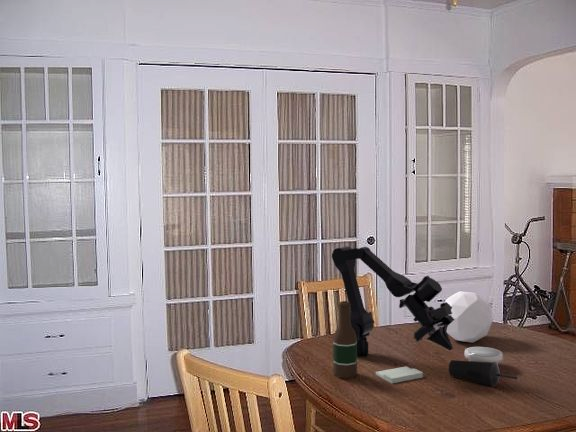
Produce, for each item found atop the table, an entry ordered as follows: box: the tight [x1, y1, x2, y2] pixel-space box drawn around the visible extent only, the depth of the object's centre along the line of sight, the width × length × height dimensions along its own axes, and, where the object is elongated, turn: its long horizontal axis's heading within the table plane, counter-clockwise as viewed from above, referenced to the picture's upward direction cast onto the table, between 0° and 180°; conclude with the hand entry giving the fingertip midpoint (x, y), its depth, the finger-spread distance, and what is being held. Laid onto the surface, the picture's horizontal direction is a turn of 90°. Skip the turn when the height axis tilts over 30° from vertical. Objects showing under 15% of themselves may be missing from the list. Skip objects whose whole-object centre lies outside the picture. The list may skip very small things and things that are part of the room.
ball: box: [444, 290, 494, 343], centre depth 217 cm, size 19×20×20 cm
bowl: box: [464, 346, 504, 365], centre depth 188 cm, size 12×12×5 cm
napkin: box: [375, 366, 424, 384], centre depth 181 cm, size 12×9×2 cm
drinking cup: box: [448, 359, 518, 388], centre depth 174 cm, size 8×8×20 cm
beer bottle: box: [332, 300, 358, 380], centre depth 182 cm, size 8×8×24 cm
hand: (451, 349), depth 180 cm, fingers closed
